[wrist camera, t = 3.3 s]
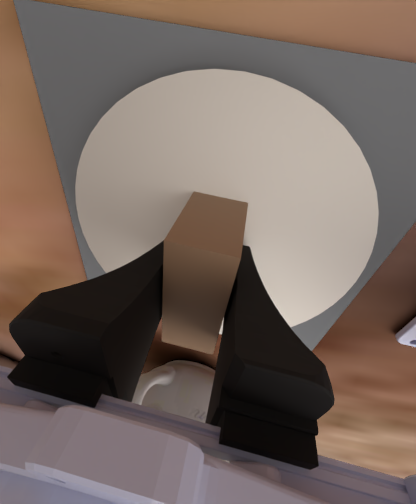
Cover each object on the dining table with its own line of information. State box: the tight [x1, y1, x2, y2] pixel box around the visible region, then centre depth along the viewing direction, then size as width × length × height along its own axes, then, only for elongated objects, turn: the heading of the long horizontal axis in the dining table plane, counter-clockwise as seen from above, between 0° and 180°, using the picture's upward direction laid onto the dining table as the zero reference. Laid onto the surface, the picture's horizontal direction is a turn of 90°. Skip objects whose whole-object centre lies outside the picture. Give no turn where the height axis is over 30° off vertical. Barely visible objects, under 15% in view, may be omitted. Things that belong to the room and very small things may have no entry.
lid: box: [75, 69, 379, 355], centre depth 11 cm, size 15×15×5 cm
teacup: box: [132, 360, 230, 463], centre depth 21 cm, size 14×11×8 cm
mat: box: [13, 0, 416, 351], centre depth 13 cm, size 18×17×1 cm
